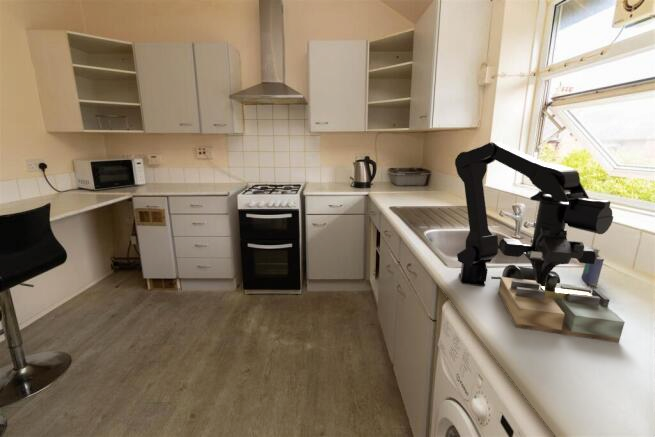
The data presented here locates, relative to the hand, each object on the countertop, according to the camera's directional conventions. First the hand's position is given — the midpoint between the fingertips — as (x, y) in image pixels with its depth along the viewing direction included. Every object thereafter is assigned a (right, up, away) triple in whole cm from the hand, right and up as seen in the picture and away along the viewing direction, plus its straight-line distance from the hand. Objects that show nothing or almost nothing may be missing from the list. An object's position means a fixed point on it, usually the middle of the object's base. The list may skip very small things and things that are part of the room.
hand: (538, 283), depth 77 cm
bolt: (+6, -3, -1) cm, 7 cm away
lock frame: (+4, -8, +1) cm, 9 cm away
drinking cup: (+14, -2, +15) cm, 21 cm away
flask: (+29, -4, +20) cm, 35 cm away
